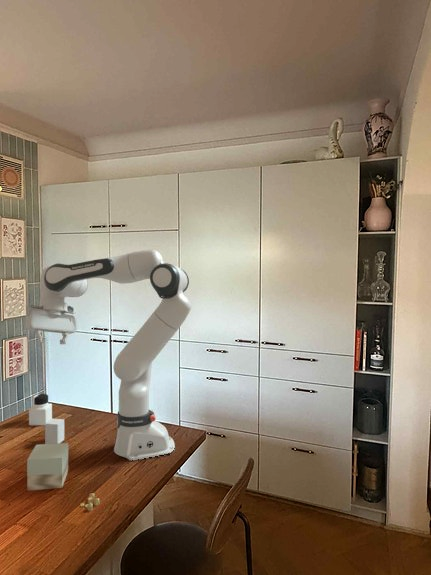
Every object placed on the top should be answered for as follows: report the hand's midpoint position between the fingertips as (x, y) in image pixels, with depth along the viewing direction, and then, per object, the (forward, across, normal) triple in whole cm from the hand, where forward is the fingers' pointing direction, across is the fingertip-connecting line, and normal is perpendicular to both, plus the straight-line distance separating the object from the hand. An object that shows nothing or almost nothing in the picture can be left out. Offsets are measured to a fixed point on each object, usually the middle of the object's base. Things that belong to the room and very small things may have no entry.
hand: (52, 343), depth 148 cm
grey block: (+36, +10, +12) cm, 39 cm away
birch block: (+46, -7, -8) cm, 47 cm away
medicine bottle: (+28, +17, +32) cm, 46 cm away
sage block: (+41, -8, -10) cm, 43 cm away
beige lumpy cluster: (+53, -7, -28) cm, 60 cm away
